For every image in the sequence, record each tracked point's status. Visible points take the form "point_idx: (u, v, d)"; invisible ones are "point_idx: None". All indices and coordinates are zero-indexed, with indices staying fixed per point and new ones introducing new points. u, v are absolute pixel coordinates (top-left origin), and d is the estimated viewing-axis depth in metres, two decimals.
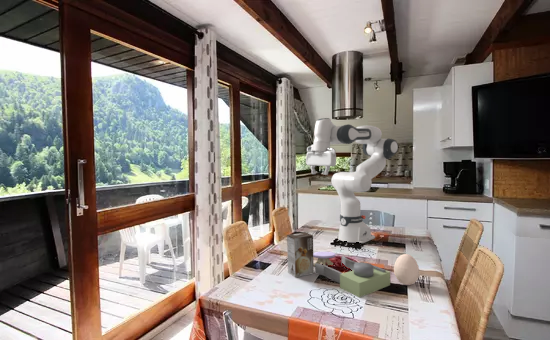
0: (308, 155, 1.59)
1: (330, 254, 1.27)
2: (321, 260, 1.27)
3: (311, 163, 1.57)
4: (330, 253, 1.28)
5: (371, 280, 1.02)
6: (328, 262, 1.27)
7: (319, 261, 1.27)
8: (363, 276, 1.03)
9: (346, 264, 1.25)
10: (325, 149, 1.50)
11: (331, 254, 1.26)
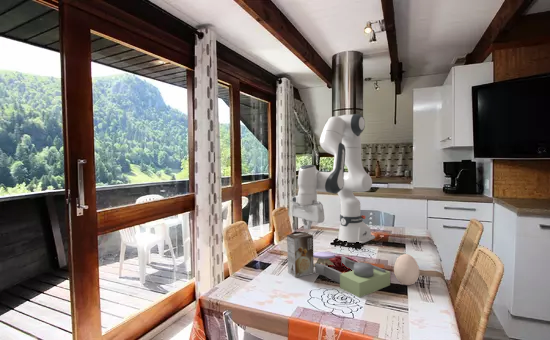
0: (293, 206, 1.41)
1: (330, 254, 1.26)
2: (321, 260, 1.27)
3: (297, 215, 1.39)
4: (330, 253, 1.28)
5: (371, 280, 1.02)
6: (328, 262, 1.27)
7: (319, 261, 1.27)
8: (363, 276, 1.03)
9: (346, 264, 1.25)
10: (311, 202, 1.32)
11: (331, 254, 1.26)
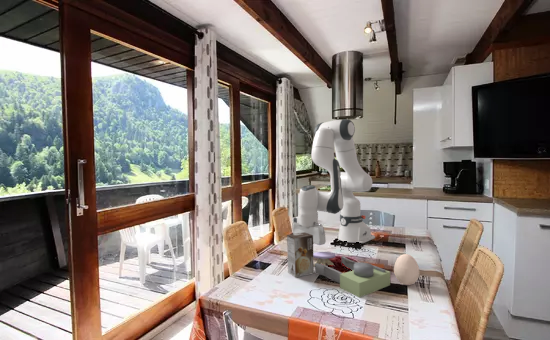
0: (294, 226, 1.41)
1: (330, 254, 1.26)
2: (321, 260, 1.26)
3: None
4: (330, 253, 1.27)
5: (371, 280, 1.02)
6: (328, 262, 1.27)
7: (319, 261, 1.27)
8: (363, 276, 1.03)
9: (346, 264, 1.25)
10: (312, 224, 1.32)
11: (331, 254, 1.26)
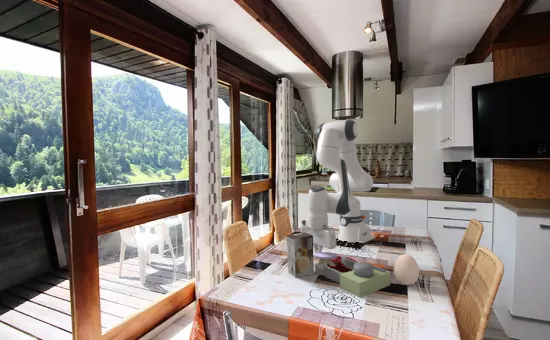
0: (303, 228, 1.36)
1: (332, 255, 1.25)
2: (323, 261, 1.25)
3: None
4: (332, 254, 1.26)
5: (371, 280, 1.02)
6: (330, 263, 1.26)
7: (321, 262, 1.26)
8: (363, 276, 1.03)
9: (346, 264, 1.25)
10: (322, 227, 1.26)
11: (333, 255, 1.25)
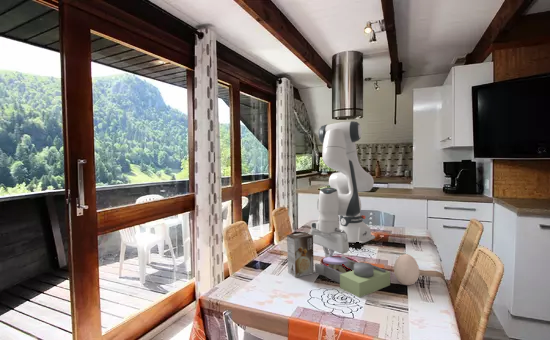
0: (313, 232, 1.30)
1: (342, 260, 1.18)
2: (332, 266, 1.19)
3: (317, 243, 1.28)
4: (342, 259, 1.20)
5: (371, 280, 1.02)
6: (340, 269, 1.19)
7: (330, 267, 1.20)
8: (363, 276, 1.03)
9: (346, 264, 1.25)
10: (334, 230, 1.20)
11: (343, 260, 1.18)
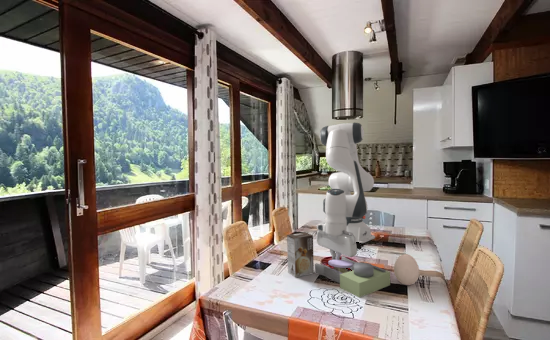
0: (319, 234, 1.27)
1: (347, 264, 1.15)
2: (337, 269, 1.16)
3: (324, 245, 1.25)
4: (348, 263, 1.16)
5: (371, 280, 1.02)
6: (345, 272, 1.16)
7: None
8: (363, 276, 1.03)
9: None
10: (341, 232, 1.17)
11: (348, 264, 1.14)
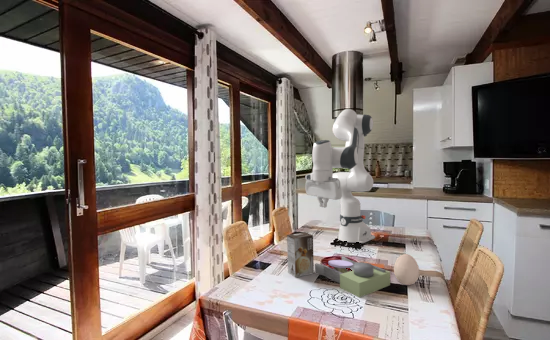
0: (308, 184, 1.36)
1: (347, 264, 1.15)
2: (337, 269, 1.16)
3: (312, 194, 1.34)
4: (348, 263, 1.16)
5: (371, 280, 1.02)
6: None
7: None
8: (363, 276, 1.03)
9: None
10: (327, 179, 1.26)
11: (348, 264, 1.14)
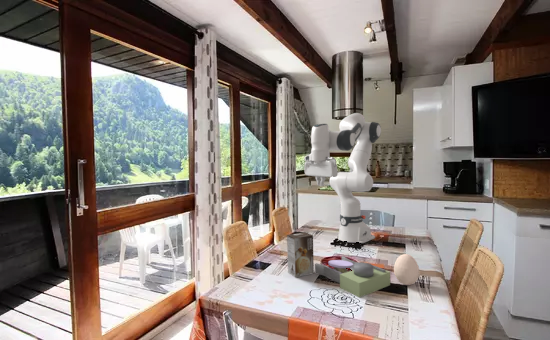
0: (306, 165, 1.46)
1: (347, 264, 1.15)
2: (337, 269, 1.16)
3: (310, 173, 1.44)
4: (348, 263, 1.16)
5: (371, 280, 1.02)
6: None
7: None
8: (363, 276, 1.03)
9: None
10: (324, 158, 1.37)
11: (348, 264, 1.14)
